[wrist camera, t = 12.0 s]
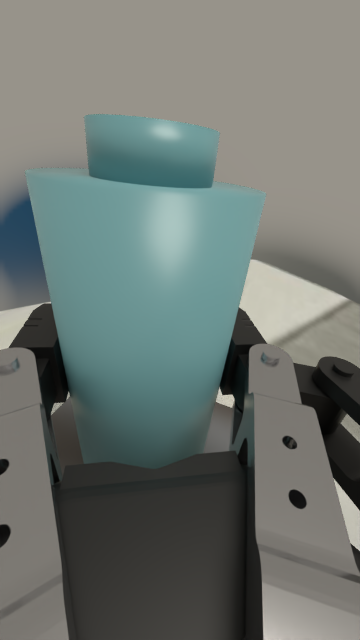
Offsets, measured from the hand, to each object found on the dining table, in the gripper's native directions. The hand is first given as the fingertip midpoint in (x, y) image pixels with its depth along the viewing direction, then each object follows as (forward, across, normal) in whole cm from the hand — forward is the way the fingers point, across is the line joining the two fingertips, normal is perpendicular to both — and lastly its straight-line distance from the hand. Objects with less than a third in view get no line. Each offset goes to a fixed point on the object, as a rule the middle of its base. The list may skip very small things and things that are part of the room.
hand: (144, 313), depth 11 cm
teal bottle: (-3, 0, +7) cm, 7 cm away
